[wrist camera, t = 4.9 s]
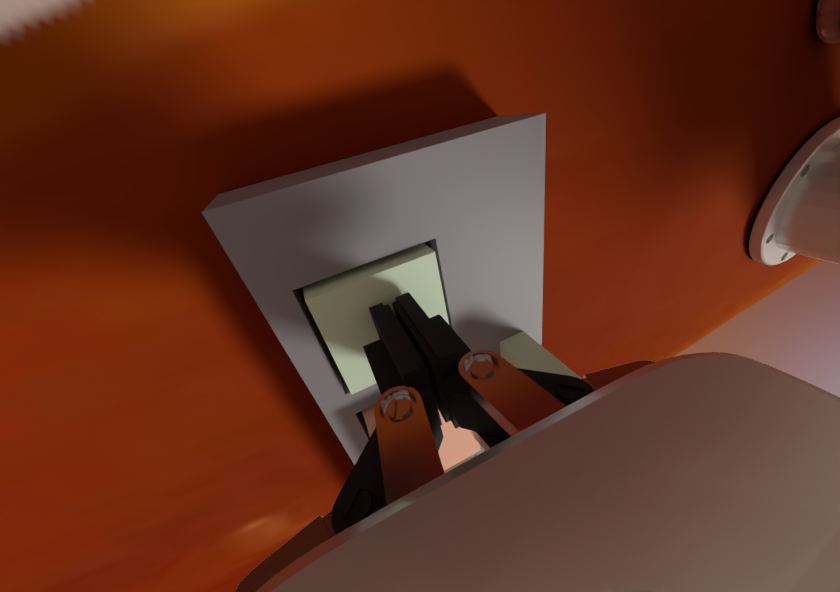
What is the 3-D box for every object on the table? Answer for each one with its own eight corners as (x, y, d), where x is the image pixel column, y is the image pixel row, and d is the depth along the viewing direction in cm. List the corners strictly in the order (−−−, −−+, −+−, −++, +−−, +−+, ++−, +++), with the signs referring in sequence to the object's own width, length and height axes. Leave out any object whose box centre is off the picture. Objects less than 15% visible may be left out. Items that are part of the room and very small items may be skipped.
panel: (218, 194, 11) (155, 261, 5) (498, 116, 14) (654, 105, 8) (394, 510, 25) (428, 622, 19) (516, 441, 28) (577, 521, 22)
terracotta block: (356, 391, 16) (371, 442, 13) (441, 352, 17) (470, 392, 14) (381, 444, 19) (398, 496, 16) (453, 408, 20) (480, 450, 17)
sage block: (299, 266, 13) (304, 300, 10) (406, 229, 14) (435, 251, 12) (339, 351, 16) (351, 394, 13) (426, 314, 17) (453, 347, 14)
